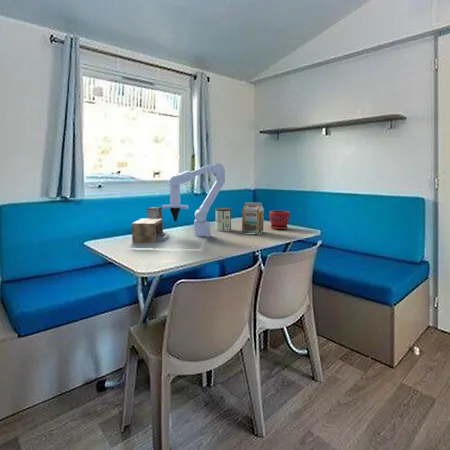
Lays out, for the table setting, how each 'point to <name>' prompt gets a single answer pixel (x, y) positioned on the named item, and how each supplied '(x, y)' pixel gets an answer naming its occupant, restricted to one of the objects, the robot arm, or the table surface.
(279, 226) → the plant pot
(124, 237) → the table surface
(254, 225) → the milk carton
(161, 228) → the brown boxy block
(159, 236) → the tray
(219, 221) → the coffee can
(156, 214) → the coffee box
